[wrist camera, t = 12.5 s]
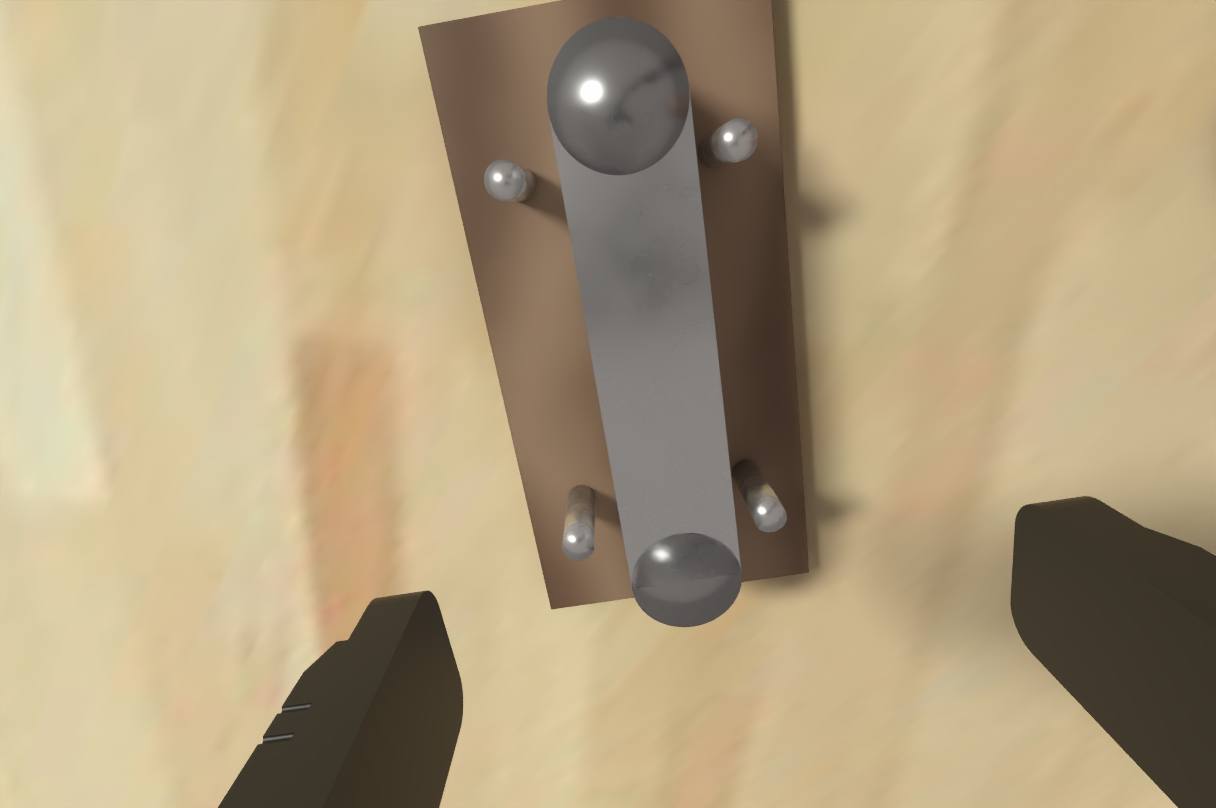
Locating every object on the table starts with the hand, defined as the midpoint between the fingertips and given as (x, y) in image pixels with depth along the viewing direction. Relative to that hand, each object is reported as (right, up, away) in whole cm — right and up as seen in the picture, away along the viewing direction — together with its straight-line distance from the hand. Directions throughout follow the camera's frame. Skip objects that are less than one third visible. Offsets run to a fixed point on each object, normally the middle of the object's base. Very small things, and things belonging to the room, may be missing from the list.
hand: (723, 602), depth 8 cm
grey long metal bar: (0, +5, +16) cm, 17 cm away
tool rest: (0, +6, +17) cm, 18 cm away
